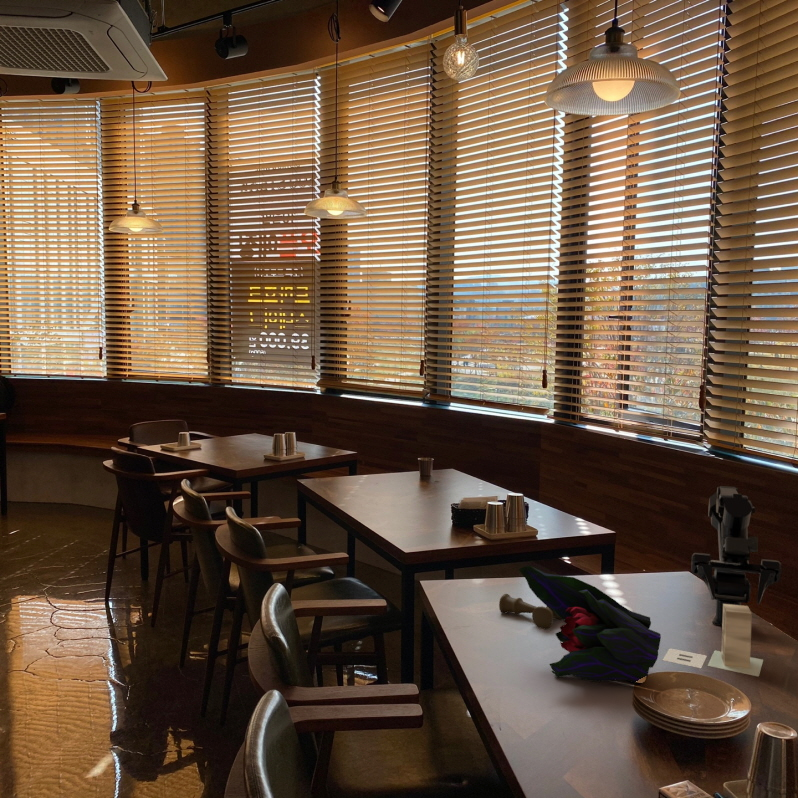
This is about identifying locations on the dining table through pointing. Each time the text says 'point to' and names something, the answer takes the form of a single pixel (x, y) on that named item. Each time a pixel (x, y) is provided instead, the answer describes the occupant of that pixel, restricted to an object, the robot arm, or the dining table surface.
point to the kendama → (528, 611)
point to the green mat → (753, 670)
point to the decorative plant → (595, 630)
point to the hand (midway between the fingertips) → (735, 600)
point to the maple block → (736, 635)
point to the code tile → (685, 658)
